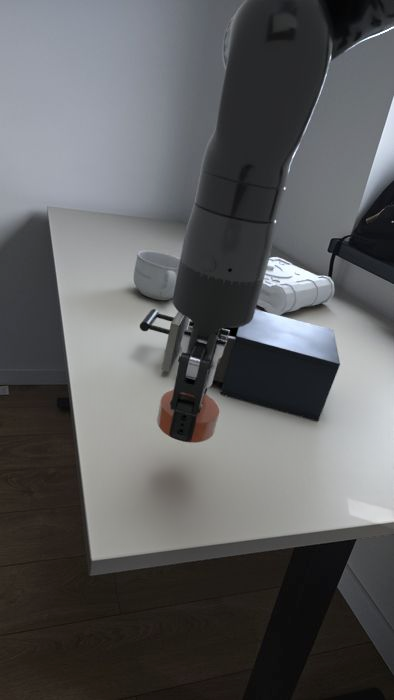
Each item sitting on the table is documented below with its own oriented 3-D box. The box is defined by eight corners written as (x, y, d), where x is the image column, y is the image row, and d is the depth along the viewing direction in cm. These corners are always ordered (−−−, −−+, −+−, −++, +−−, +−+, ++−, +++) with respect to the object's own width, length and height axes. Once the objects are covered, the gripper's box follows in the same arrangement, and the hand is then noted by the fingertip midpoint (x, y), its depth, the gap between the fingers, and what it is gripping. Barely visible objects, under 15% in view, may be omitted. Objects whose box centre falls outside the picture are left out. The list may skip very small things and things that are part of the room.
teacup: (131, 281, 107) (137, 245, 103) (180, 289, 109) (187, 254, 105) (130, 306, 94) (136, 266, 91) (185, 315, 96) (194, 276, 93)
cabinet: (220, 394, 72) (236, 336, 68) (230, 358, 83) (244, 306, 79) (318, 421, 71) (340, 364, 67) (314, 381, 82) (333, 329, 78)
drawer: (129, 361, 73) (137, 313, 70) (149, 332, 83) (157, 290, 80) (249, 394, 72) (264, 347, 69) (255, 361, 82) (267, 319, 79)
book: (339, 303, 124) (350, 275, 121) (279, 321, 104) (289, 287, 101) (277, 276, 135) (286, 249, 131) (212, 287, 115) (219, 255, 111)
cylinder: (218, 416, 53) (223, 398, 52) (209, 449, 48) (214, 429, 47) (164, 401, 54) (168, 383, 52) (150, 432, 48) (154, 412, 47)
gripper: (260, 299, 36) (211, 474, 44) (269, 253, 49) (230, 394, 57) (162, 274, 37) (130, 451, 44) (196, 236, 50) (167, 377, 57)
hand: (187, 419), depth 50 cm, fingers closed on cylinder, 6 cm apart
